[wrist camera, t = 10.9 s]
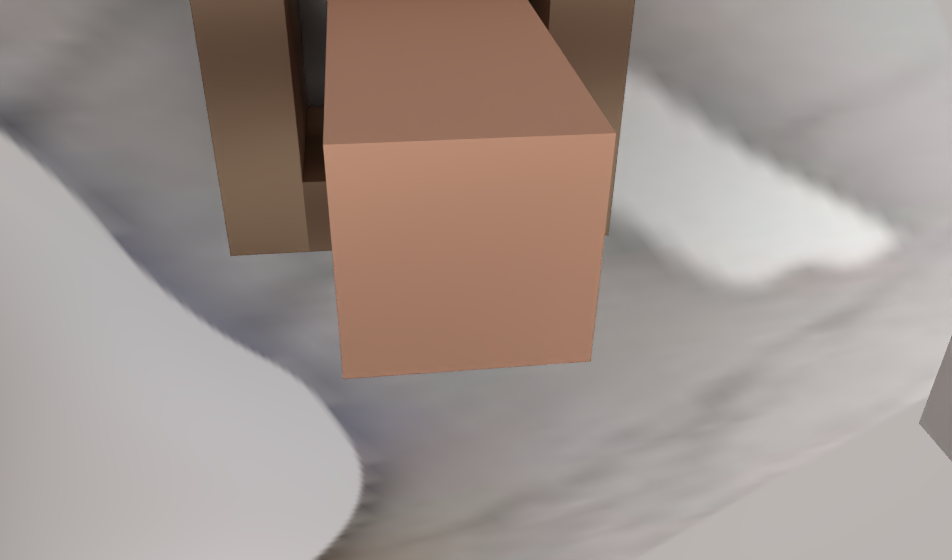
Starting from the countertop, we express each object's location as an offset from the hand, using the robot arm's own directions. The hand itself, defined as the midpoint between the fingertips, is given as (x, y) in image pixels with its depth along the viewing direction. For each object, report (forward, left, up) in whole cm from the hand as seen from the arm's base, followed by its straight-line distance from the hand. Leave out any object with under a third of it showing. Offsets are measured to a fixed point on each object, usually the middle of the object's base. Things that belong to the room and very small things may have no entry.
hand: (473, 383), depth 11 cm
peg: (0, 0, -17) cm, 17 cm away
